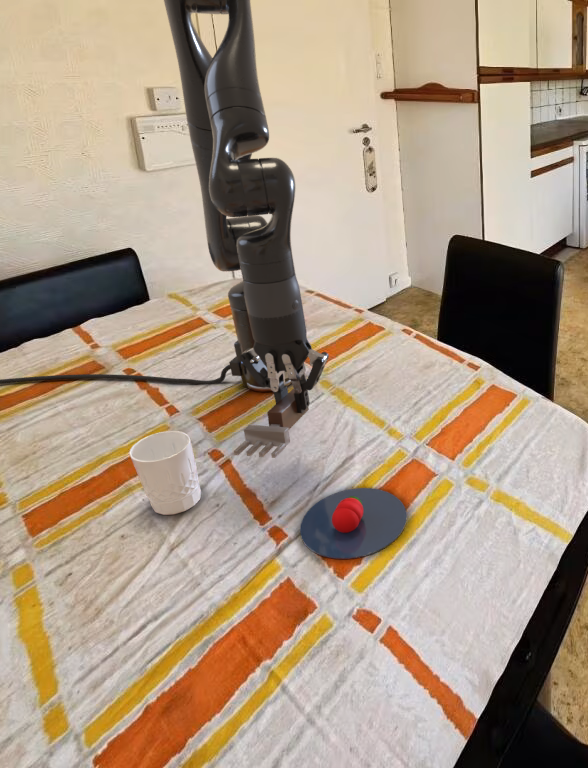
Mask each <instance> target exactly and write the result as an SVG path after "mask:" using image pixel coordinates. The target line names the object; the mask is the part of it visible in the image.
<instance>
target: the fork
mask: <svg viewBox="0 0 588 768" xmlns="http://www.w3.org/2000/svg"><path fill="white" fill-rule="evenodd" d="M294 393H295V391H294V388H292V389H291V390H290V391H288V394H287V395H286V396H285V397H284V398H282V399H281V400H280V401H279V402H278V403H277V404H276V403H275V404H274V405H273V406H272V407H270V409H269V410H268V411H267V412H266V414H267V420H268V425H259V424H258V425H257V424H248V425H247V426H246V427H245V428H243V435H244V439H245V440H243V442H242V443H240V445H238V446H237V447H236V448H235V449H234V450H233V455H234V456H240V455H241V454H242V452H244V451H245V450H246V449H247V448H248V447H249V446H250V445H251V447H249V448H248V449H247V450H246V451H245V453H246V454H245V455H246V457H251V456H253V455H254V454H255V453H256V452H257V451H258V450H259V449H260V448H261V447H262V446H264V447H263V448H261V450H260V451H259V452H258V457H259V458H264V457H265V456H266V455H267V454H268V453H269V452H270V451H271V450H272V449H273V448H274V447H276V448H275V449H274V450H273V451H272V452H271V453H270V457H271V459H276V458H277V457H278V456H279V455H280V454H281V453H282V452H283V451H284V450H285V449H286V448H287V446H289V444H291V436H290V430H291V429H292V428H293V426H294V425H296V424H297V423H298V421H300V419H301V418H303V416H304V415H305V414H306V413H307V412H308V411H309V410H310V409H309V408H310V407H309V406H308V407H307V409H306V410H305V411H304V413H298V412H297V406H296V401H295V397H294Z"/></svg>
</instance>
